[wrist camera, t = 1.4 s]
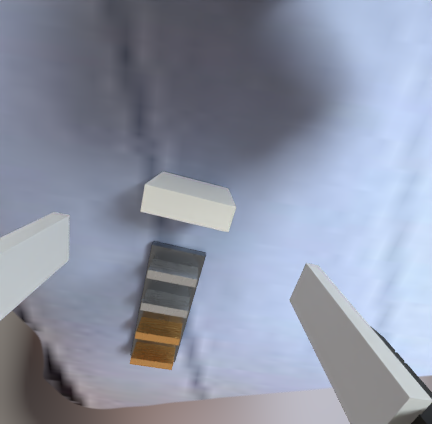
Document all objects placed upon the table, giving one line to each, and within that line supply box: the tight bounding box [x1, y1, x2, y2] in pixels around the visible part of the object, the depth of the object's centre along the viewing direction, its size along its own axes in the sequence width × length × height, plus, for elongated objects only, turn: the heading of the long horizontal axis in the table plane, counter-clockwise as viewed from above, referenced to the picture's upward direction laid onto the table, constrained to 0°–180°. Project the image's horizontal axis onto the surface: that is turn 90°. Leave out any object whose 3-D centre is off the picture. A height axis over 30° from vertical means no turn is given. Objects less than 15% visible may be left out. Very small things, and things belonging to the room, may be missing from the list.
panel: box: [140, 171, 236, 232], centre depth 22 cm, size 2×8×8 cm, turn 75°
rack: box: [130, 241, 206, 370], centre depth 29 cm, size 20×7×4 cm, turn 165°
